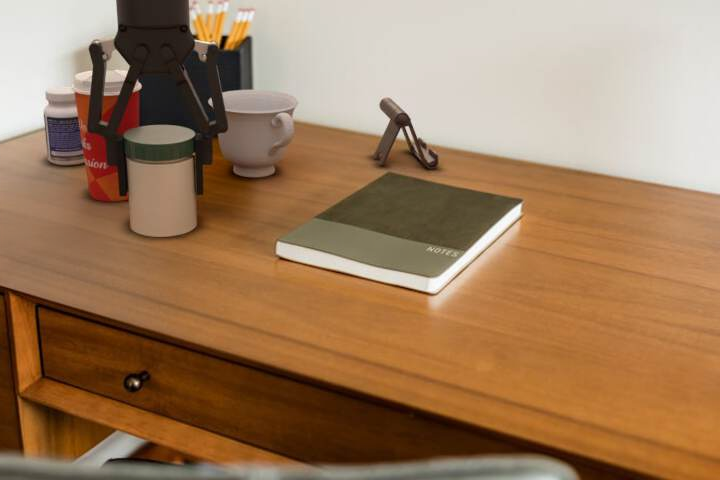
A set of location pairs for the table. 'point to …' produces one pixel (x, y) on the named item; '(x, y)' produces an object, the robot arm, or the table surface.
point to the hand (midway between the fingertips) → (162, 191)
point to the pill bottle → (62, 127)
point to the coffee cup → (94, 145)
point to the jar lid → (159, 142)
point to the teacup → (256, 130)
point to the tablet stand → (395, 124)
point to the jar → (162, 196)
